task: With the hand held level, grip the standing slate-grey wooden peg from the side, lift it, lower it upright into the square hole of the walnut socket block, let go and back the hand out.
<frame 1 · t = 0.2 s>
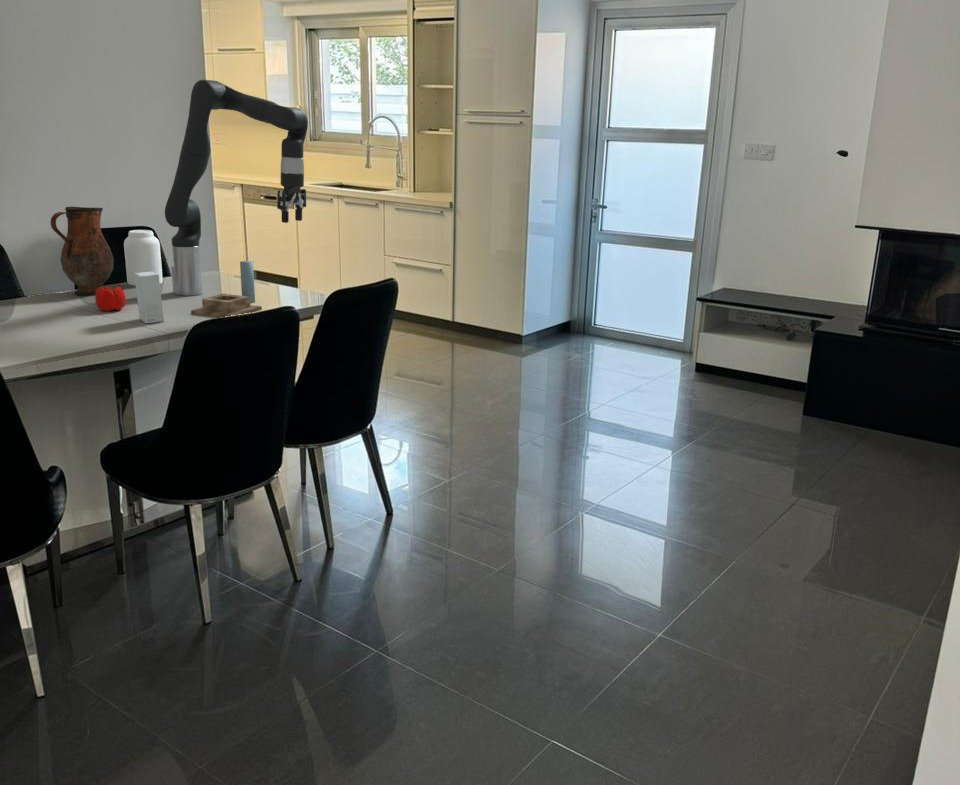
hand: (291, 221, 285), 29 cm above the table, tool pointing down, fingers open, 8 cm apart
white supplement bottle: (145, 284, 323), on the table
peg: (248, 302, 297), on the table
red bell pepper: (112, 310, 279), on the table
socket: (227, 311, 282), on the table
pitcher: (86, 294, 302), on the table
skincare box: (151, 321, 267), on the table
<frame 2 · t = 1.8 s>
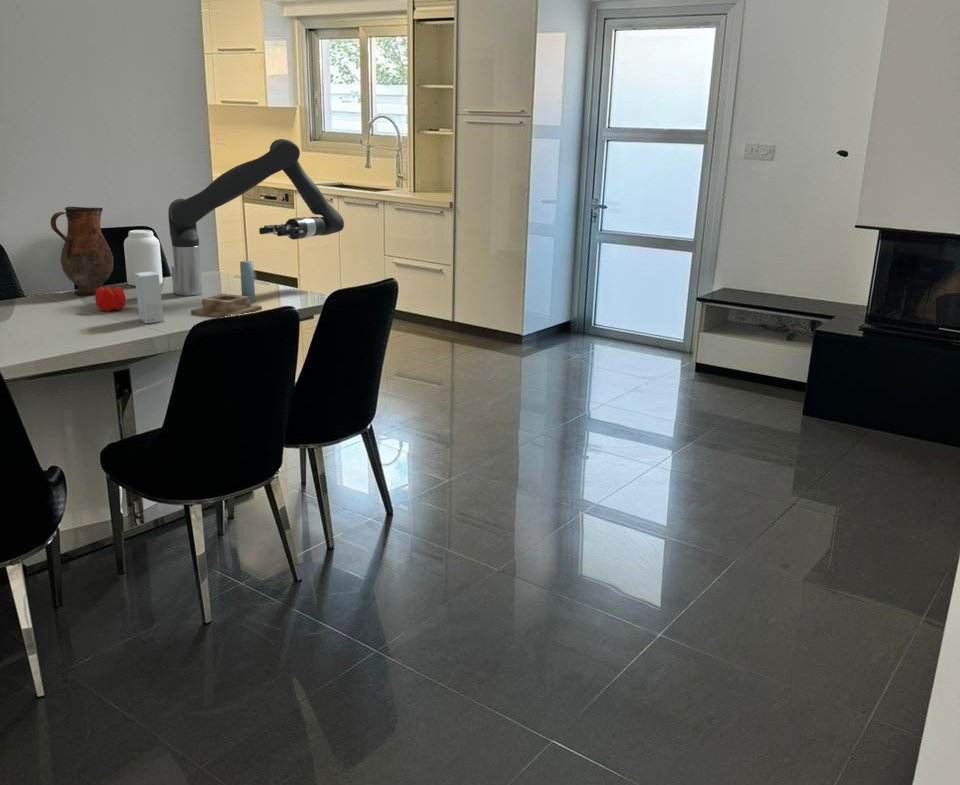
hand: (268, 232, 300), 23 cm above the table, tool horizontal, fingers open, 8 cm apart
nothing on the table moved.
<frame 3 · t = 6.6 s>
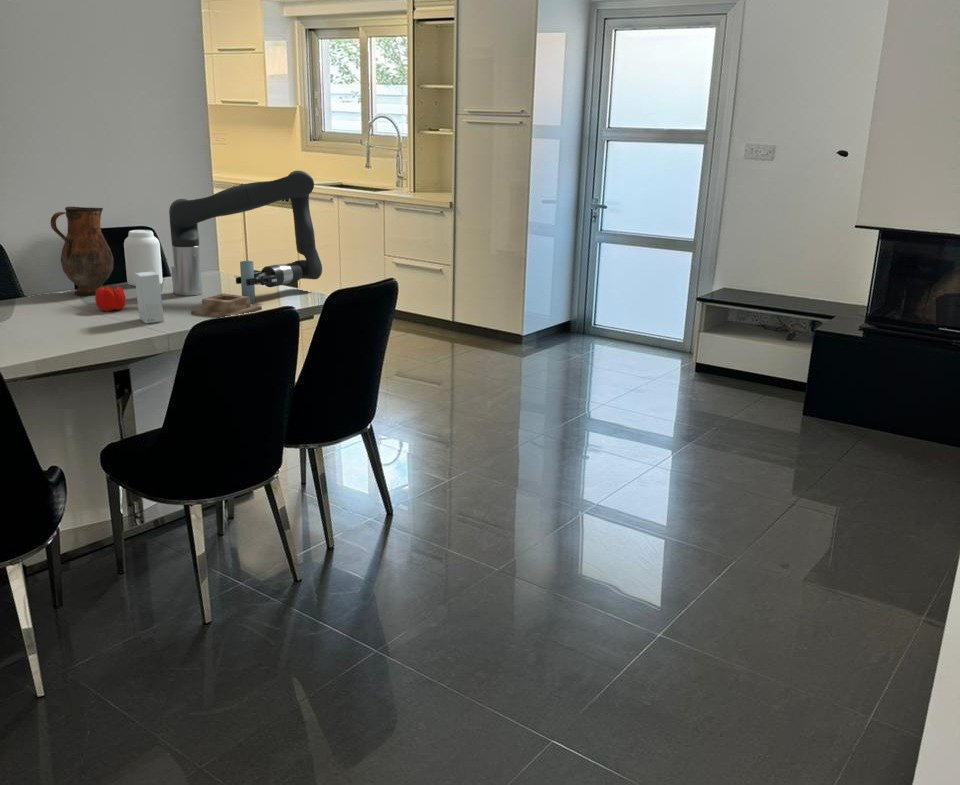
hand: (241, 281, 293), 8 cm above the table, tool horizontal, fingers closed on peg, 4 cm apart
peg: (248, 302, 297), on the table, touching gripper
everything else where it was.
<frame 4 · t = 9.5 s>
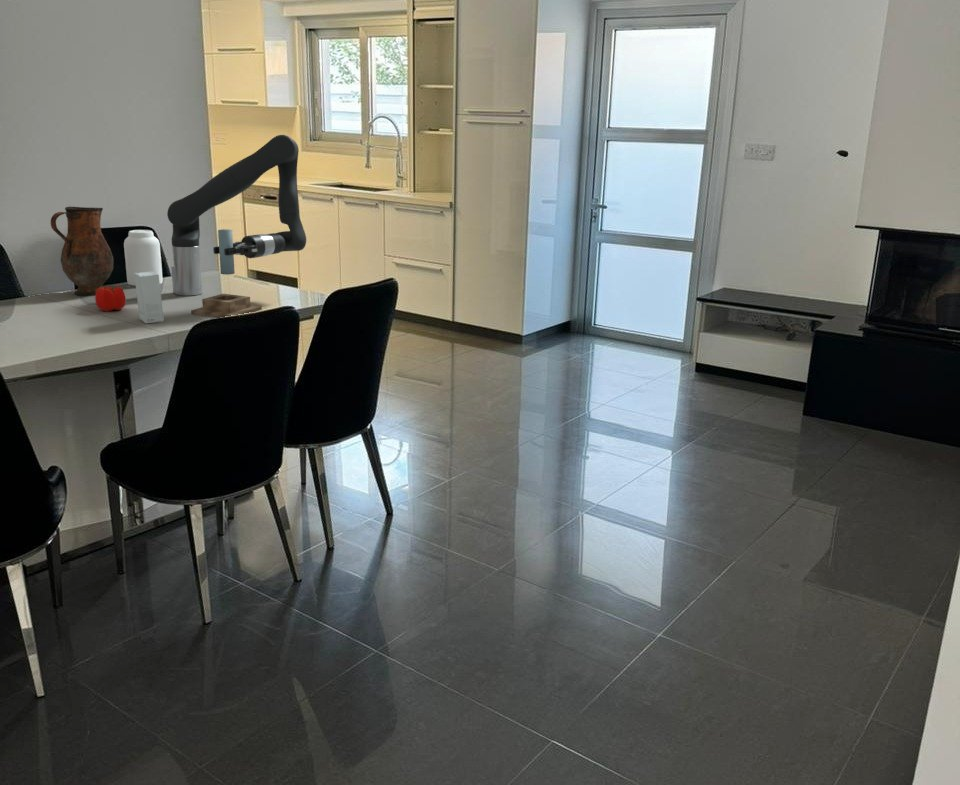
hand: (220, 251, 275), 20 cm above the table, tool horizontal, fingers closed on peg, 4 cm apart
peg: (227, 273, 280), point 12 cm above the table, touching gripper
everything else where it was.
when the fingers open (10 cm above the table, at t = 12.5 s): peg drops 1 cm, resting on socket.
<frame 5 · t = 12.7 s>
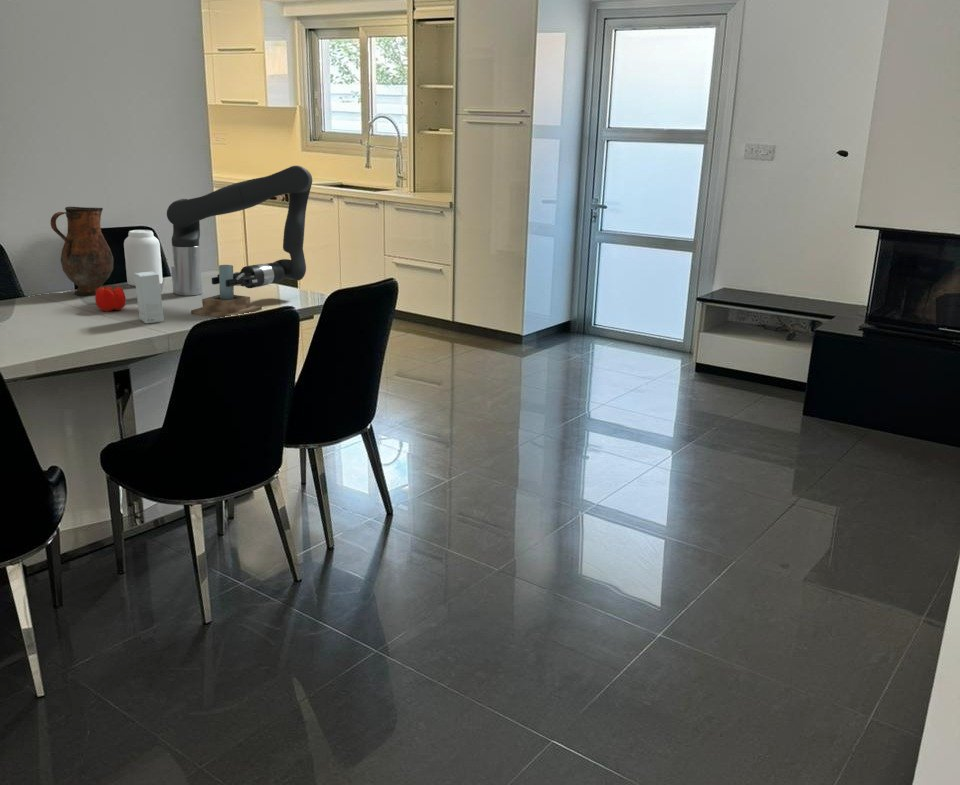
hand: (219, 282, 277), 10 cm above the table, tool horizontal, fingers open, 6 cm apart
peg: (227, 308, 282), point 1 cm above the table, touching socket
everything else where it was.
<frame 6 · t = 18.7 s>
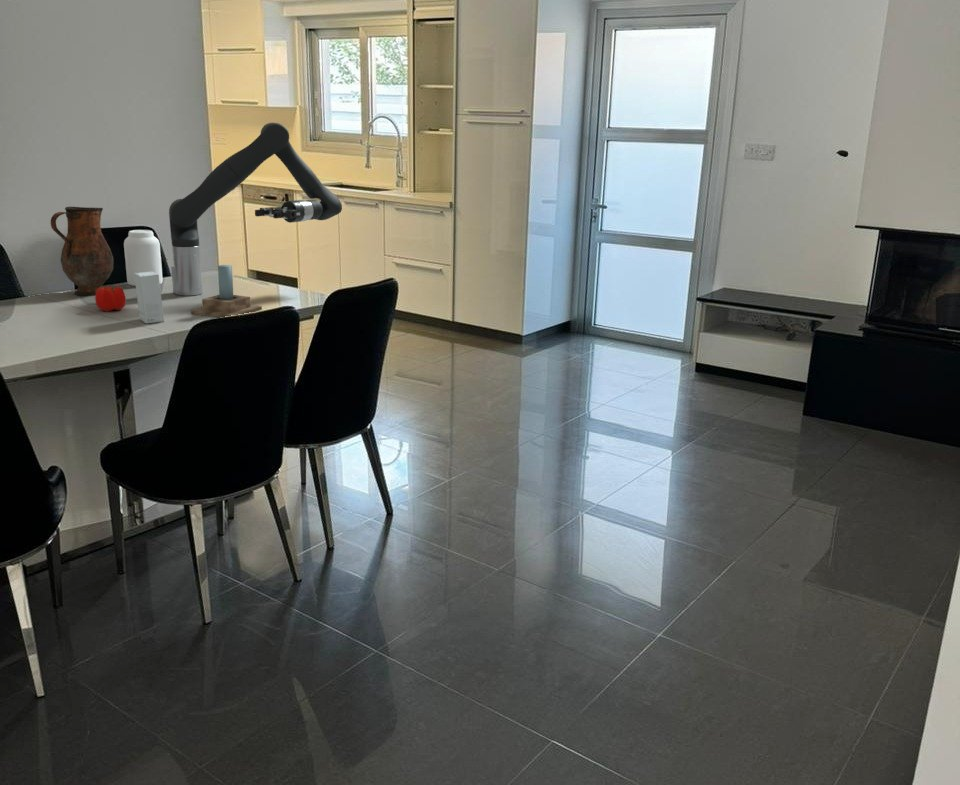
hand: (264, 214, 291), 30 cm above the table, tool horizontal, fingers open, 8 cm apart
nothing on the table moved.
at the end: peg 0.1 cm off-centre on the socket, point 1.0 cm above the socket's base; peg tilted 0°; the gripper is holding nothing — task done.
